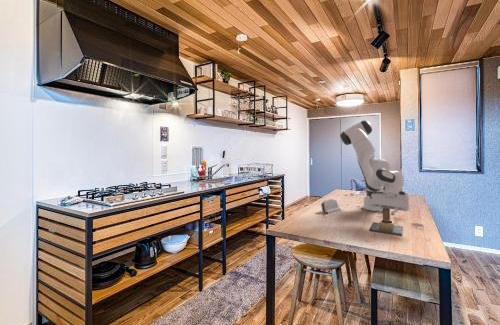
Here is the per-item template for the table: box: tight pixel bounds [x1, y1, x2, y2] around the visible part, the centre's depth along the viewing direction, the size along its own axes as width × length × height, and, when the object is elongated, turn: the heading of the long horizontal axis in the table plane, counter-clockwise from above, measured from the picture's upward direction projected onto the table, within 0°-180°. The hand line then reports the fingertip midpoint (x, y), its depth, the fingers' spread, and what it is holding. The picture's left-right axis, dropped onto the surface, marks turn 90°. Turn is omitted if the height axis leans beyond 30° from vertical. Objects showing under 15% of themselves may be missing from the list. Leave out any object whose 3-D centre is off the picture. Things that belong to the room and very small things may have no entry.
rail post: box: [382, 208, 391, 223], centre depth 150 cm, size 4×4×11 cm
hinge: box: [320, 198, 342, 215], centre depth 192 cm, size 17×5×10 cm, turn 128°
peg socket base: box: [369, 218, 404, 237], centre depth 150 cm, size 16×16×4 cm
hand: (386, 213), depth 149 cm, fingers open, 5 cm apart
